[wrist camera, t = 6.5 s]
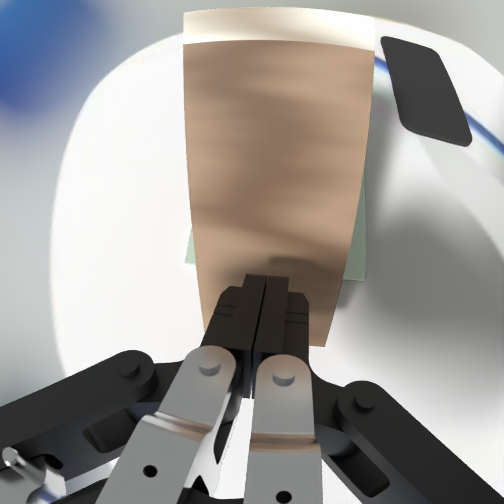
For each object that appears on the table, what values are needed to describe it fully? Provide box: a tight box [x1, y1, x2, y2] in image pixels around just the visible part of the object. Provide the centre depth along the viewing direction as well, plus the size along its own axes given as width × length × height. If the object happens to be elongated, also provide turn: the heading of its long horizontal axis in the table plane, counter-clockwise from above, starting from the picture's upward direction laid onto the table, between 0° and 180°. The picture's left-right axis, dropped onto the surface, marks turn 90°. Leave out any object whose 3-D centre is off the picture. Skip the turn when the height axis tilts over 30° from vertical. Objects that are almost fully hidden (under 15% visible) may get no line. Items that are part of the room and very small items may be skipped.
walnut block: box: [183, 7, 375, 347], centre depth 12 cm, size 6×4×14 cm
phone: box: [381, 36, 472, 147], centre depth 22 cm, size 7×1×15 cm
